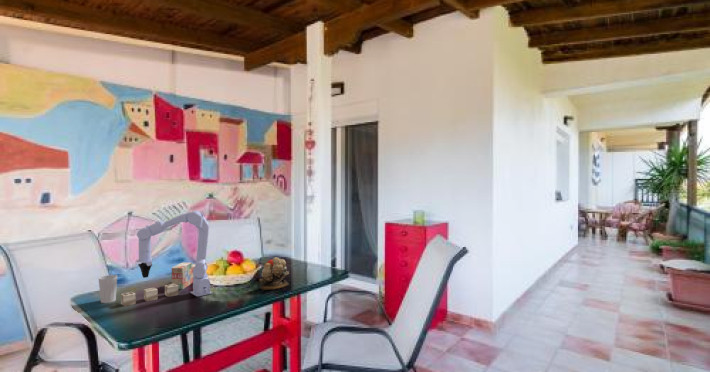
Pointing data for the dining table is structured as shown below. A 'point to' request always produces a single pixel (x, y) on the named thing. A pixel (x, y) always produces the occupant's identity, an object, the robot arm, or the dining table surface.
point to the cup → (108, 288)
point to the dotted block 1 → (128, 298)
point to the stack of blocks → (183, 274)
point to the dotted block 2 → (171, 290)
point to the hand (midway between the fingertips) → (145, 277)
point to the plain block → (150, 294)
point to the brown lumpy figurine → (274, 275)
